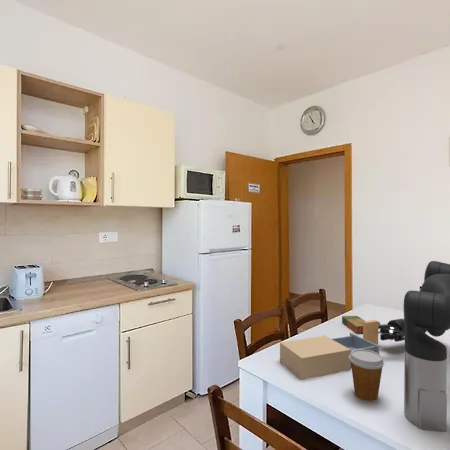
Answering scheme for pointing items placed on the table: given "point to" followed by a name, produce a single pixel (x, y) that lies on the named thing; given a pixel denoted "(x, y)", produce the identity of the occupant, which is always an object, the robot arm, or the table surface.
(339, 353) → the box lid
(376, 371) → the disposable coffee cup
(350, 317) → the carton
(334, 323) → the table surface
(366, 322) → the grey box
